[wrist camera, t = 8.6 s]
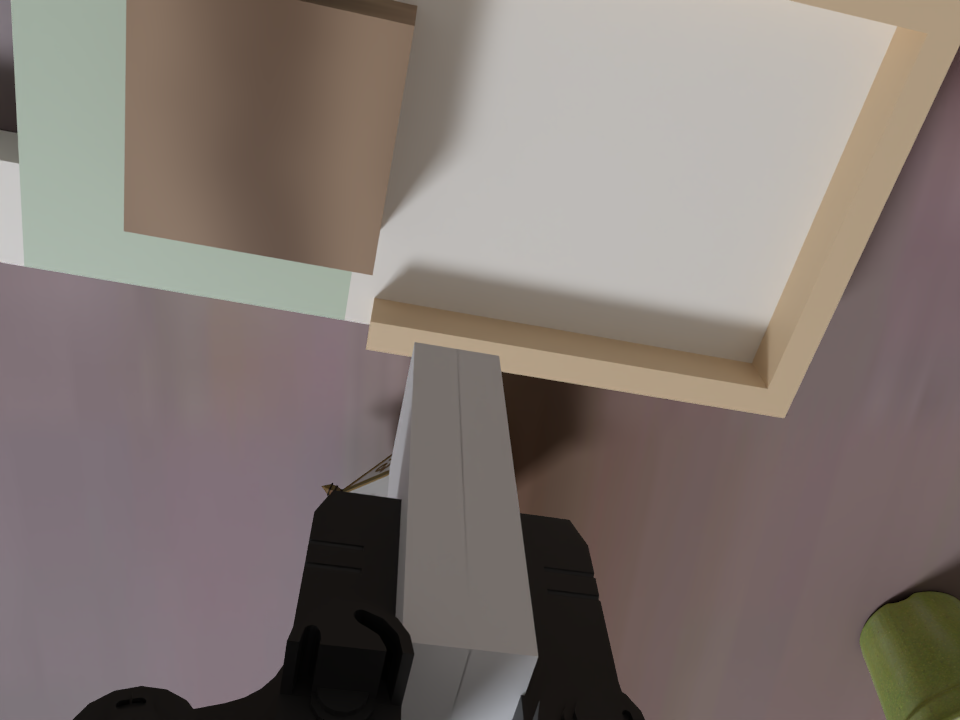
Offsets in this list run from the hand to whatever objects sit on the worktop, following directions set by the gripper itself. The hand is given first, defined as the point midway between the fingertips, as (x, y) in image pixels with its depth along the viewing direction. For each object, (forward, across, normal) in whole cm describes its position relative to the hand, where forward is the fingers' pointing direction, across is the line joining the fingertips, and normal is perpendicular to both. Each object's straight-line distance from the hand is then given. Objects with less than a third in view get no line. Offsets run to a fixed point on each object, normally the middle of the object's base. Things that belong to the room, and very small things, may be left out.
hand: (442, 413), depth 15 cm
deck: (+20, -5, 0) cm, 21 cm away
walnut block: (+17, -6, 0) cm, 18 cm away
